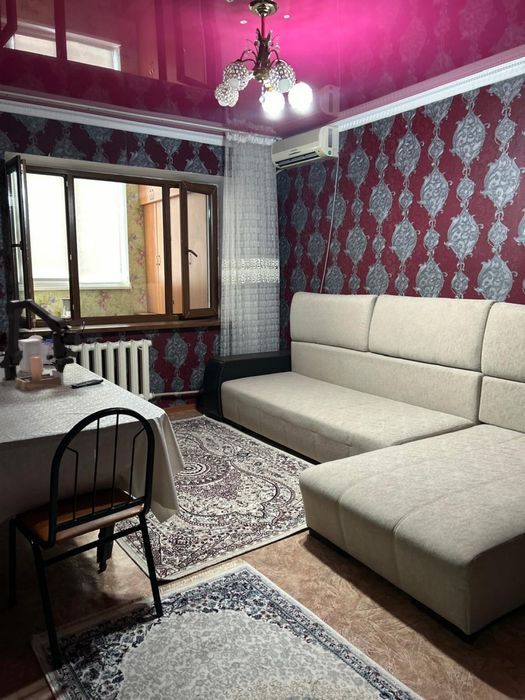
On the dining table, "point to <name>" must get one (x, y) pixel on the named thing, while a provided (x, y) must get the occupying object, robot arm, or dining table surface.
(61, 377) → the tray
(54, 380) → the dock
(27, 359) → the supplement box
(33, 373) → the canister
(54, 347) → the robot arm
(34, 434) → the dining table surface
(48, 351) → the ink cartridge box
